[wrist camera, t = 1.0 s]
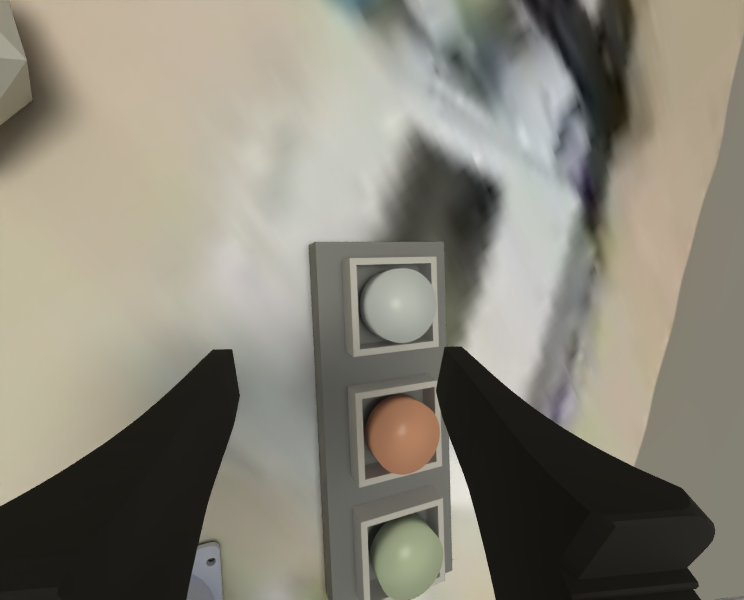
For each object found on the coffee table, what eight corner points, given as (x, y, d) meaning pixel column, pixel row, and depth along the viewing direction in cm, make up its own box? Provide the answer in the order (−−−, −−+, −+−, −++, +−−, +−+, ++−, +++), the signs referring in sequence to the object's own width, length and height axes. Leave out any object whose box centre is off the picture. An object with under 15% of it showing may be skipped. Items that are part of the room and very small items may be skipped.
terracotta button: (428, 454, 24) (440, 465, 22) (366, 469, 22) (375, 482, 21) (425, 389, 23) (438, 396, 22) (363, 400, 22) (373, 408, 20)
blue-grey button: (424, 335, 23) (437, 339, 22) (361, 342, 22) (370, 346, 20) (422, 268, 23) (435, 267, 21) (358, 270, 21) (367, 269, 20)
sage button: (431, 567, 24) (444, 586, 23) (371, 590, 23) (380, 611, 21) (429, 505, 24) (442, 520, 22) (368, 524, 22) (378, 541, 21)
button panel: (437, 551, 28) (465, 587, 25) (326, 591, 25) (340, 639, 21) (429, 244, 26) (457, 239, 23) (308, 245, 23) (321, 238, 20)
